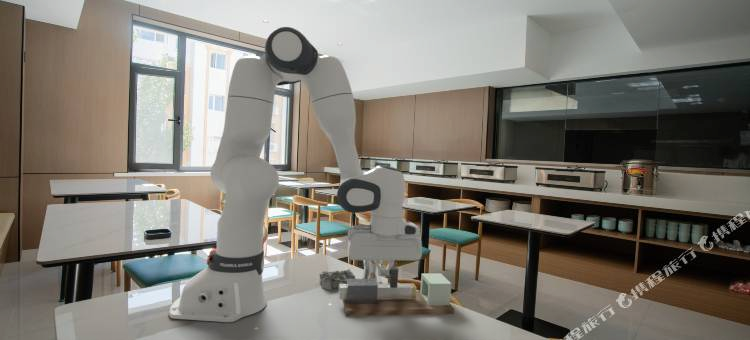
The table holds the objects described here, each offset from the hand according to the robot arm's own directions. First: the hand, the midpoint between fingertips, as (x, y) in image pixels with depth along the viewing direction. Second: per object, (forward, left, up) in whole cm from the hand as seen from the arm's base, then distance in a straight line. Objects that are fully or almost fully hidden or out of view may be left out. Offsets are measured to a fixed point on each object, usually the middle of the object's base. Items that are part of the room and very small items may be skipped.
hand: (383, 275), depth 99 cm
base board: (+4, 0, -8) cm, 9 cm away
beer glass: (0, +18, -9) cm, 20 cm away
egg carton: (-11, +16, -9) cm, 21 cm away
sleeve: (-6, 0, -7) cm, 9 cm away
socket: (+15, 0, -8) cm, 17 cm away
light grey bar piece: (-1, 0, -6) cm, 6 cm away
